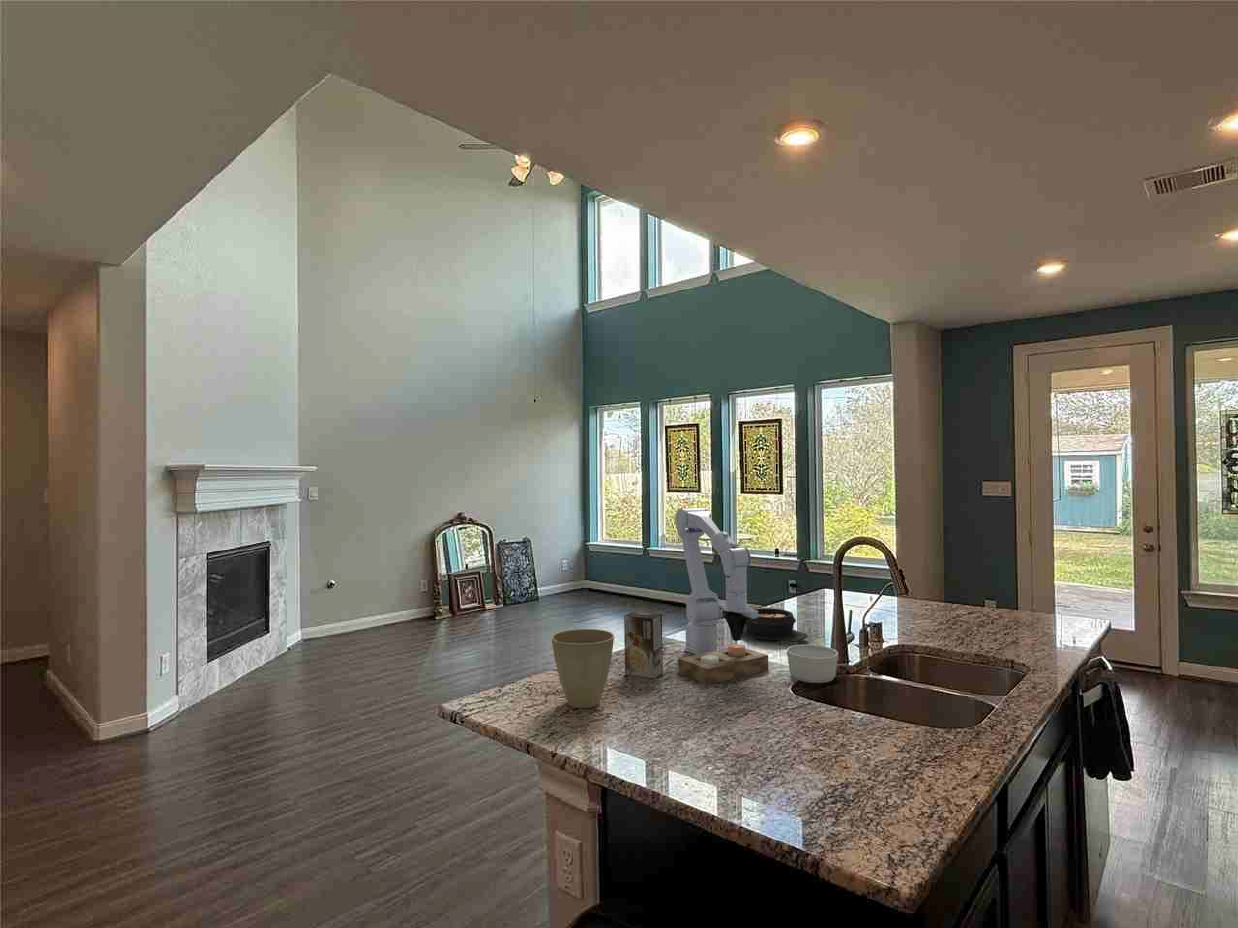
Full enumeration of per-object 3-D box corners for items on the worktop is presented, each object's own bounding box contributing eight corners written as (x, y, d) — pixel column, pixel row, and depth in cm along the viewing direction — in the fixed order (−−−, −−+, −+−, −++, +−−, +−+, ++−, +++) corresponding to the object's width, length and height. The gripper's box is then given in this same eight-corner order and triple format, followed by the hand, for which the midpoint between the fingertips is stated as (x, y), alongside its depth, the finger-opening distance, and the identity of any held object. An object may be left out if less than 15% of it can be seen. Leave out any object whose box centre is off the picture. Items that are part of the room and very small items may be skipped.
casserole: (721, 636, 216) (721, 611, 216) (753, 627, 229) (753, 603, 229) (788, 650, 198) (788, 623, 199) (818, 639, 212) (818, 613, 212)
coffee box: (664, 672, 178) (663, 613, 178) (654, 679, 172) (653, 618, 172) (634, 668, 182) (633, 610, 182) (623, 674, 176) (623, 615, 177)
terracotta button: (724, 658, 182) (724, 645, 182) (737, 655, 185) (737, 643, 185) (736, 662, 178) (736, 649, 178) (749, 659, 181) (749, 647, 181)
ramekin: (841, 686, 165) (841, 659, 165) (788, 683, 168) (787, 656, 168) (835, 670, 178) (834, 645, 178) (785, 668, 181) (785, 643, 181)
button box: (678, 672, 177) (678, 658, 177) (737, 659, 190) (737, 645, 190) (708, 684, 167) (707, 669, 167) (768, 669, 180) (768, 655, 180)
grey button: (697, 670, 176) (697, 657, 176) (710, 667, 179) (710, 654, 179) (709, 674, 172) (709, 661, 172) (722, 671, 175) (722, 658, 175)
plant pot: (621, 695, 160) (621, 630, 160) (604, 717, 146) (603, 645, 146) (564, 690, 164) (564, 626, 164) (542, 711, 150) (541, 641, 150)
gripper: (707, 588, 185) (708, 636, 185) (744, 596, 173) (745, 647, 173) (726, 586, 189) (726, 633, 189) (763, 593, 177) (763, 643, 177)
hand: (736, 639), depth 181 cm, fingers closed
